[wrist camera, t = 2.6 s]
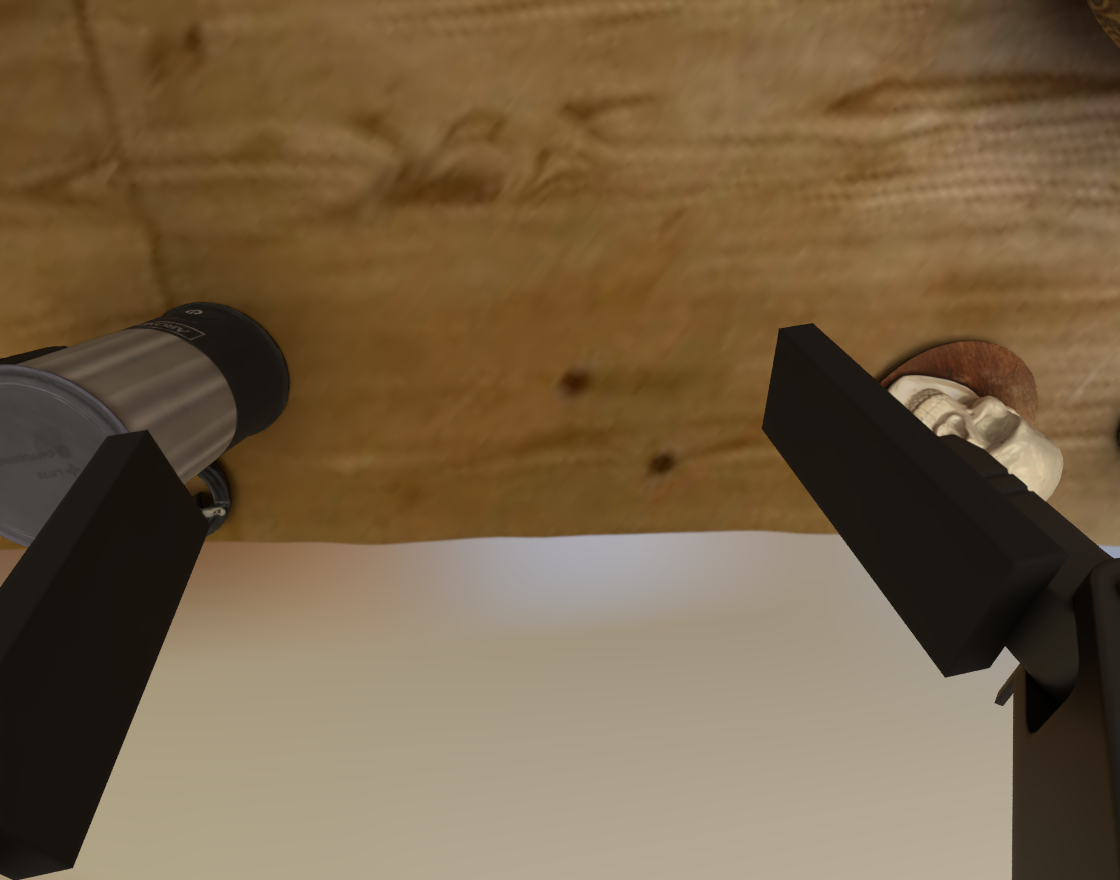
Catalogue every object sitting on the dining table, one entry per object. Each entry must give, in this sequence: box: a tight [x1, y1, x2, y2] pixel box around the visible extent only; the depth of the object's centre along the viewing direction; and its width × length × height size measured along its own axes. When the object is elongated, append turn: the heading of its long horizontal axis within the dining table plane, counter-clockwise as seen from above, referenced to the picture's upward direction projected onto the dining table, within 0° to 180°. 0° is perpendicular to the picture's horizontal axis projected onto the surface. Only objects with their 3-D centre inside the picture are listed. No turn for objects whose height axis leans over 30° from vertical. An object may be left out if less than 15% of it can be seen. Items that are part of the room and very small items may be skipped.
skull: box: [880, 341, 1063, 501], centre depth 38 cm, size 12×10×10 cm
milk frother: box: [0, 302, 289, 547], centre depth 34 cm, size 14×16×15 cm
